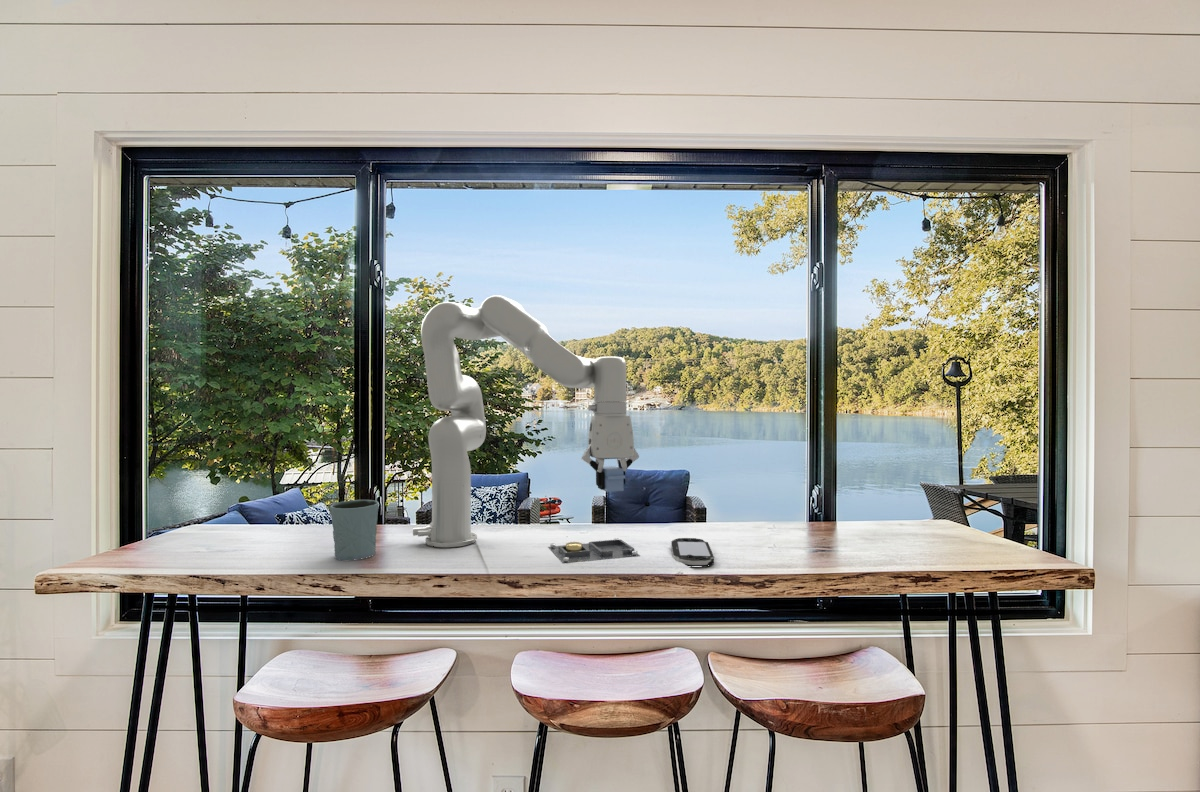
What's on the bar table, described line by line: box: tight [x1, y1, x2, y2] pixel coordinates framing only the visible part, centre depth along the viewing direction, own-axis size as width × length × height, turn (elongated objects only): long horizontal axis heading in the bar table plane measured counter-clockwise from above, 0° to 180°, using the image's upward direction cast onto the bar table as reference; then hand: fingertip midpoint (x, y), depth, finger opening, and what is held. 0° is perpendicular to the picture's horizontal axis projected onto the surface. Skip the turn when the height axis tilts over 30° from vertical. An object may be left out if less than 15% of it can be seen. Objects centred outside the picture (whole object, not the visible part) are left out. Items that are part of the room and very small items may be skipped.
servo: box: [603, 465, 626, 493], centre depth 132 cm, size 4×8×5 cm, turn 19°
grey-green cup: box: [329, 499, 380, 561], centre depth 130 cm, size 10×10×12 cm
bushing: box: [565, 541, 583, 552], centre depth 129 cm, size 4×4×2 cm
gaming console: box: [670, 537, 715, 567], centre depth 131 cm, size 19×9×3 cm, turn 175°
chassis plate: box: [547, 537, 641, 564], centre depth 131 cm, size 18×14×2 cm
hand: (610, 487), depth 132 cm, fingers closed on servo, 4 cm apart
